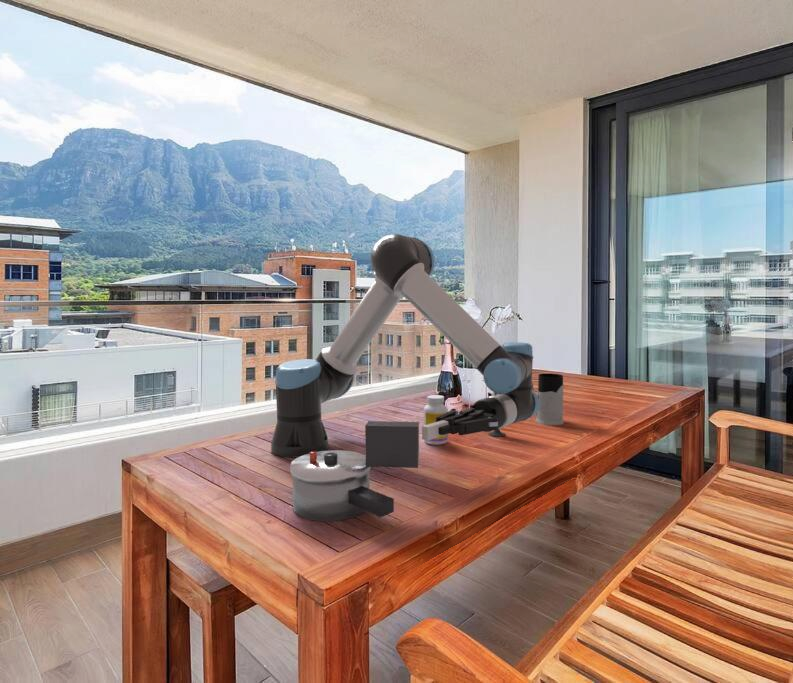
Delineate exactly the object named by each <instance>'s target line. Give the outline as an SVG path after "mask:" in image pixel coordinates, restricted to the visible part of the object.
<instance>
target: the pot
mask: <svg viewBox="0 0 793 683" xmlns="http://www.w3.org/2000/svg"><path fill="white" fill-rule="evenodd" d="M291 478H292V479H291V482H292V484H291V485H292V510H293V512H294V513H295V514H296V515H297V516H299V517H300V518H302V519H306V520H310V521H313V522H340V521H344V520H345V521H346V520H348V519H349V520H350V519H352V518H355V517H358V516H360V515H362V514H363V513H365V512H368V513H370V514H372V515H373V516H377V517H379V518H382V517H385V516H388V515H390V514H393V513H394V512H395V504H394V502H395V501H394V500H395V499H394V498H393V497H390V496H388V495H386V494H384V493H380V492H378V491H376V490H373V489H371V488H370V471H369V472H368V473H367V474H366V475H364V476H362V477H360V478H358V479H354V480H351V481H346V482H340V483H328V484H321V483H310V482H305V481H301V480H298V479H296V478H295V477H293V476H292V475H291Z"/></svg>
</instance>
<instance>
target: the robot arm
mask: <svg viewBox="0 0 793 683" xmlns="http://www.w3.org/2000/svg"><path fill="white" fill-rule="evenodd" d="M370 261H371V267H372V269H373V275H374V281H373V283H371V286H370V287H369V288H368V290H367V292H366V293H365V295H364V296H363V297H362V299H361V301H360V302H359V303H358V305H357V307H356V308H355V309H354V311H353V312H352V314H351V316H350V317H349V319H348V320H347V322H346V323H345V325H344V326H343V327H342V329H341V331H340V332H339V334H338V335H337V336H336V339H335V340H334V341H333V343H332V344H331V345H330V346H325V347H323V348H322V349H321V351H320V353H318V356H317V357H316V358H315V359H311V358H303V359H300V358H299V359H296V360H288V361H286V362H283V363H281V364H279V366H278V367H277V368H276V370H275V380H274V384H275V395H276V399H275V400H276V426H275V428H274V431H273V434H272V439H271V443H270V448H271V449H270V450H271V453H272V452H273V454H274V455H276V456H279V457H284V458H287V457H288V458H298V457H300V456H303V455H306V454H310V452H311V451H316V452H320V451H328V449H329V445H330V444H329V436H328V435H327V430H326V428H325V426H324V423H323V421H322V404H323V403H326V402H328V401H331V400H336V399H339V398H341V397H343V396H344V395H346V393H348V392H349V391H350V389H351V388H352V386H353V385H354V381H355V377H354V376H355V374H356V373H357V372H358V367H357V363H358V361H359V360H360V358H361V357H362V355H363V354H364V352H366V349H367V348H368V347H369V345H370V344H371V342H372V341H373V340H374V338H375V337H376V335H377V334H378V332H379V331H380V329H381V328H382V327H383V325H384V323H385V322H386V321H387V319H388V318H389V316H390V315H391V313H392V312H393V311H394V309H395V308H396V306H397V305H398V304H399V302H400V300H401V299H402V298H405V299H406V300H407V301H408V302H409V303H410V304H411V305H412V306H413V307H414V308H415V309H416V310H417V311H418V312H419V313H420V314H421V315H422V316H424V318H425V319H426V320H427V321H428V322H429V323H430V324H431V325H432V326H433V327H434V328H435V329H436V330H438V332H439V333H440V335H442V336H443V337H444V338H445V339H446V340H447V341H448V342H449V343H450V344H451V345H452V346H453V347H454V348H455V349H456V350H457V351H458V352H459V353H460V354H461V355H462V356H463V357H464V358H465V359H466V360H467V361H468V362H469V363H470V364H471V366H472V367H474V368H475V369H476V370H477V371H478V372H479V373H480V375H482V376H483V380H484V381H483V382H484V383H485V385H486V387H487V388H488V389H489V390H490V391H491V392H492V393H493V392H495V393H500V394H499V395H495V396H491V397H489V398H488V397H485V398H481V399H477V400H476V401H475V402H474V403H473V404H472V406H471V407H469V408H467V409H464V410H461V411H460V412H459V410H457V409H456V408H451V409H450V410H449V411H448V412H447V413H445V414H443V415H440V416H438V417H436V422H435V423H431V424H428V425H424V424H423V425H422V426H421V439H422V440H423V441H424V440H427V441H428V440H431V439H435V438H438V437H441V436H444V435H447V434H448V435H449V434H450V435H456V434H458V435H459V436H465V435H470V434H471V435H472V434H476V433H482V432H484V433H490V432H493V431H494V430H497V429H499V430H502V429H503V428H504V427H507V426H510V425H512V424H516V423H520V422H525V421H527V420H529V419H531V418H532V417H534V416H535V415H536V413H537V412H538V410H539V406H540V402H539V399H538V394H537V392H534V391H533V390H532V383H533V361H534V360H533V359H534V355H533V353H534V352H533V345H532V344H530V343H528V342H518V341H517V342H515V341H513V342H504V343H503V344H502V345H501V343H499V342H498V341H497V340H496V339H495V338H494V337H493V336H492V335H491V334H490V333H489V332H487V330H486V329H485V328H484V327H483V326H482V325H480V323H478V322H477V321H476V320H475V319H474V318H473V317H472V316H471V315H470V314H469V313H468V312H467V311H466V309H464V308H463V307H462V306H461V305H460V304H459V303H458V302H457V301H456V300H454V298H453V297H451V295H450V294H448V292H446V290H444V288H443V287H441V286H440V285H439V283H438V282H436V281H435V280H434V279H433V278H432V277H431V274H432V273H433V271H434V269H435V262H436V259H435V255H434V252H433V250H432V248H431V246H430V245H428V243H427V242H425V241H423V240H421V239H420V238H417V237H411V236H407V235H403V234H399V233H390V234H386V235H384V236H382V237H380V238H379V239H378V240H377V242H376V243H375V244H374V246H373V247H372V250H371V254H370Z"/></svg>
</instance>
